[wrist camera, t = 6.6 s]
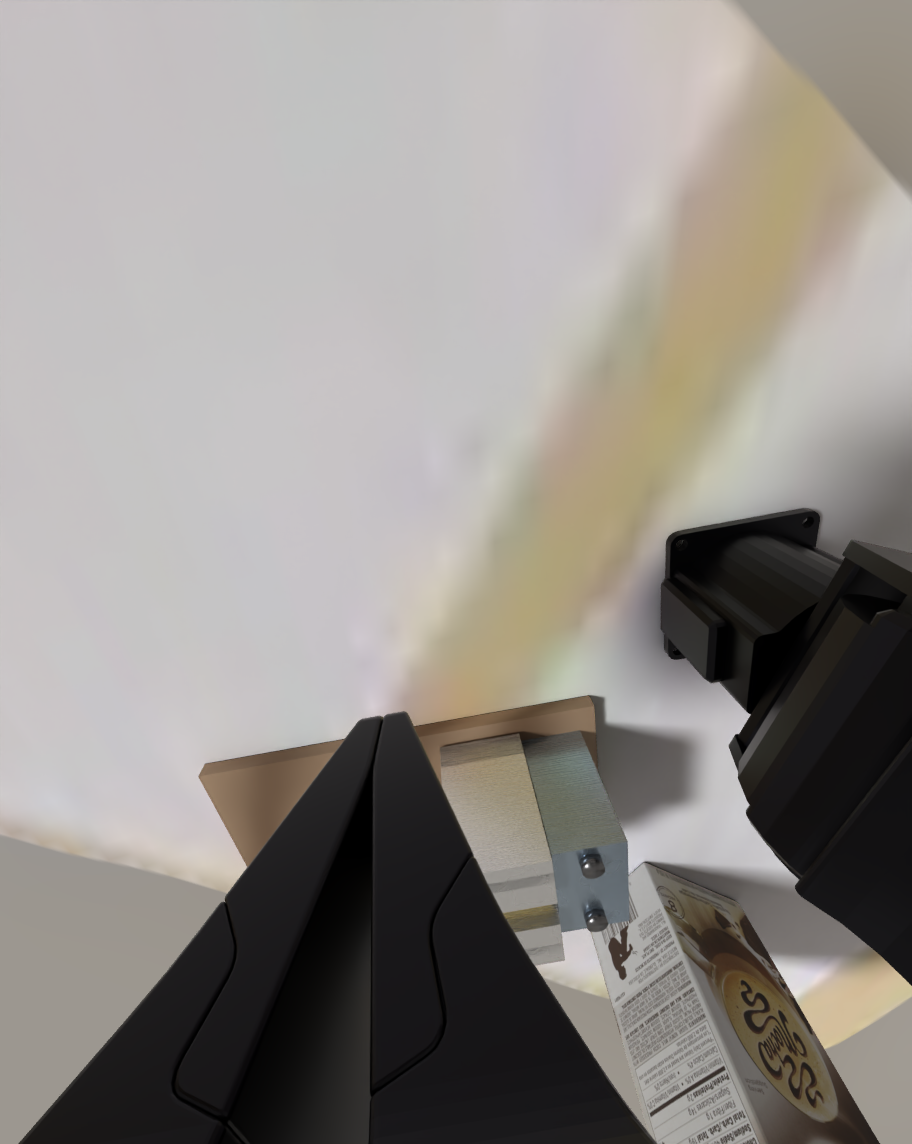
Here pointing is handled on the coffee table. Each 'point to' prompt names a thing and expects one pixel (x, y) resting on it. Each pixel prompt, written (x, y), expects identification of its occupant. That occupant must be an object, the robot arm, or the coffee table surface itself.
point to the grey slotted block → (506, 837)
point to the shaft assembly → (579, 833)
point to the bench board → (278, 779)
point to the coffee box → (716, 1026)
